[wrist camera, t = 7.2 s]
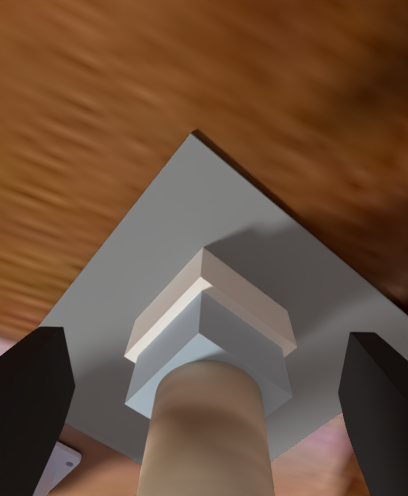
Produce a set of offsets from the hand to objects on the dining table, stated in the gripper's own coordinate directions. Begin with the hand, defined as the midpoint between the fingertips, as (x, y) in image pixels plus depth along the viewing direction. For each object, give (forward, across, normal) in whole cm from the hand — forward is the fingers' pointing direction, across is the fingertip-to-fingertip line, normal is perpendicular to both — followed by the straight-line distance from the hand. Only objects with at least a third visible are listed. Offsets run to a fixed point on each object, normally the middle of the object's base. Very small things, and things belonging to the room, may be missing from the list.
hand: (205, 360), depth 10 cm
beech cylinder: (+4, 0, +6) cm, 7 cm away
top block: (+7, 0, +6) cm, 9 cm away
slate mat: (+10, 0, +10) cm, 14 cm away
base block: (+10, 0, +6) cm, 12 cm away
